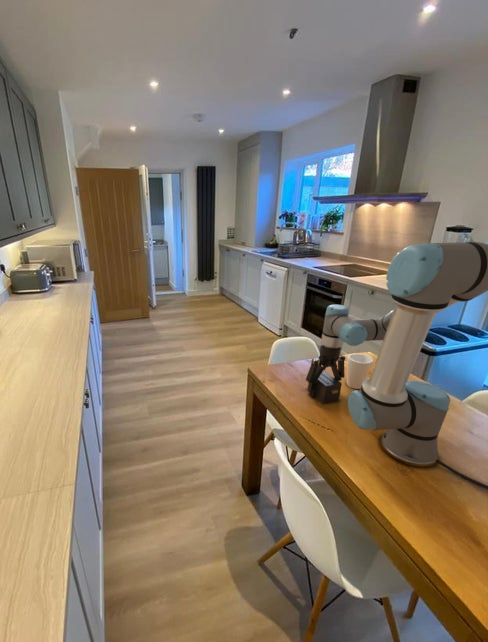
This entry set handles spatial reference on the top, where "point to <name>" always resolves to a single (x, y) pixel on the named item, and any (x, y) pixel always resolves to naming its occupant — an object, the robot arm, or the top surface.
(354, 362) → the foam cup
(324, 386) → the dark slotted box
